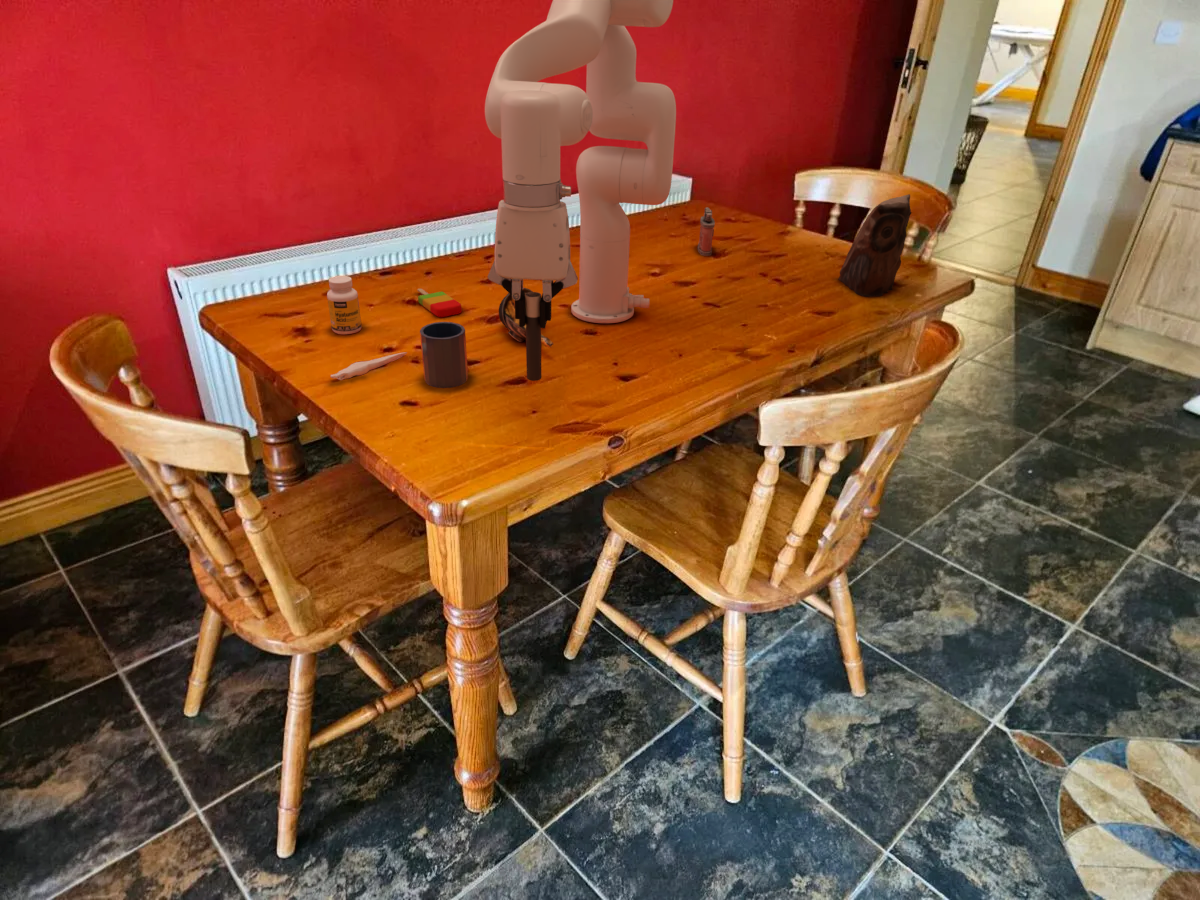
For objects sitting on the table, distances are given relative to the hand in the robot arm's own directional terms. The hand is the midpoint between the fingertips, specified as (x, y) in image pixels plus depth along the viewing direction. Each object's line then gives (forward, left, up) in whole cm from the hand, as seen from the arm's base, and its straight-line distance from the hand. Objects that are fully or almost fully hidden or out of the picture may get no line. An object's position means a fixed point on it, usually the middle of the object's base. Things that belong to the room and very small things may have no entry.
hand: (533, 323), depth 114 cm
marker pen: (0, 0, -9) cm, 9 cm away
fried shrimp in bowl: (+5, -28, -15) cm, 32 cm away
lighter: (-31, -89, -15) cm, 96 cm away
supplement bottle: (+39, -29, -15) cm, 51 cm away
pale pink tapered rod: (+29, -13, -15) cm, 35 cm away
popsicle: (+26, -44, -15) cm, 53 cm away
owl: (-66, -68, -15) cm, 96 cm away
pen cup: (+16, -10, -15) cm, 24 cm away
